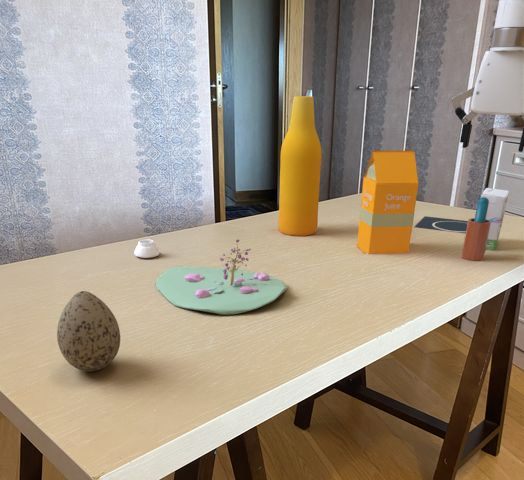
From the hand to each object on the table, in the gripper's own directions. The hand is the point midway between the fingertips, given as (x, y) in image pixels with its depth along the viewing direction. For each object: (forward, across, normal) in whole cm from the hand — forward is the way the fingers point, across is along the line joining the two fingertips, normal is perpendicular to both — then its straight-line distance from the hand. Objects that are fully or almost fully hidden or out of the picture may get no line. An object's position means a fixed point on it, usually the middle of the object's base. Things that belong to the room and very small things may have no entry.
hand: (492, 149), depth 98 cm
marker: (+21, 0, 0) cm, 21 cm away
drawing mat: (+21, +6, -26) cm, 34 cm away
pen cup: (+21, 0, 0) cm, 21 cm away
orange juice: (+22, +18, +2) cm, 28 cm away
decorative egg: (+22, +35, +70) cm, 81 cm away
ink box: (+21, -2, -12) cm, 25 cm away
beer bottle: (+22, +40, -4) cm, 45 cm away
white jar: (+22, +58, +29) cm, 69 cm away
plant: (+22, +36, +39) cm, 58 cm away
